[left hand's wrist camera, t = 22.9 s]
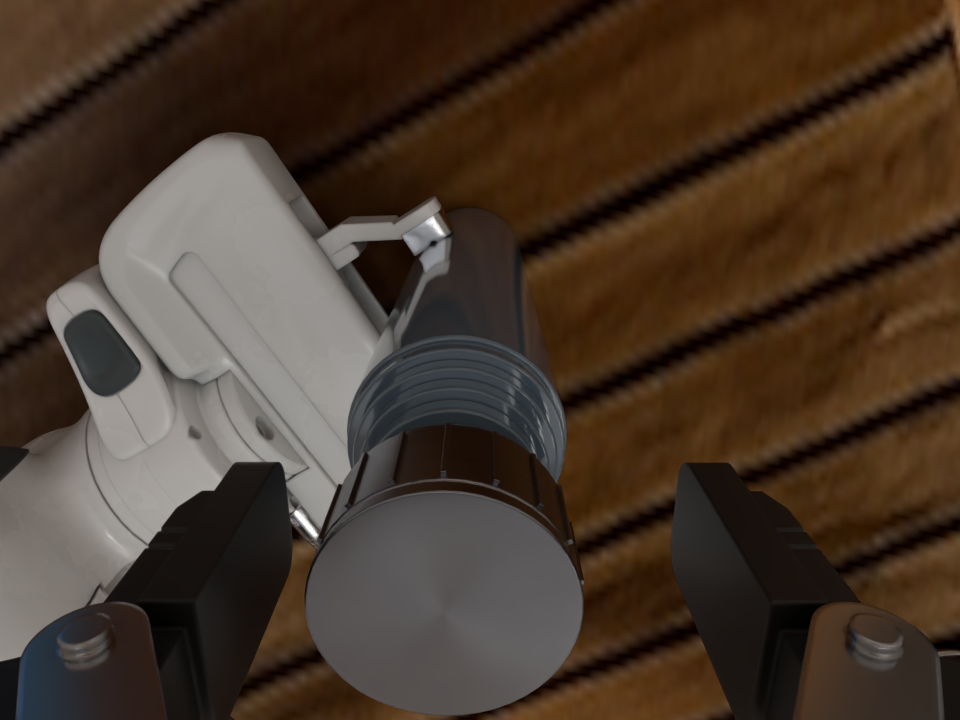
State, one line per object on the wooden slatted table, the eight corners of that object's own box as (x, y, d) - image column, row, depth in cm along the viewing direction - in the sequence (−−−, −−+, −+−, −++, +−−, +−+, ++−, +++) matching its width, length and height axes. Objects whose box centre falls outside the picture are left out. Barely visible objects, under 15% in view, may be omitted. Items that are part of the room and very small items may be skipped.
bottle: (525, 212, 33) (629, 457, 10) (515, 310, 34) (581, 713, 12) (423, 203, 33) (283, 430, 10) (417, 302, 34) (289, 694, 11)
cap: (431, 657, 13) (421, 758, 11) (280, 507, 12) (239, 588, 10) (615, 548, 12) (641, 636, 10) (472, 372, 11) (470, 432, 9)
